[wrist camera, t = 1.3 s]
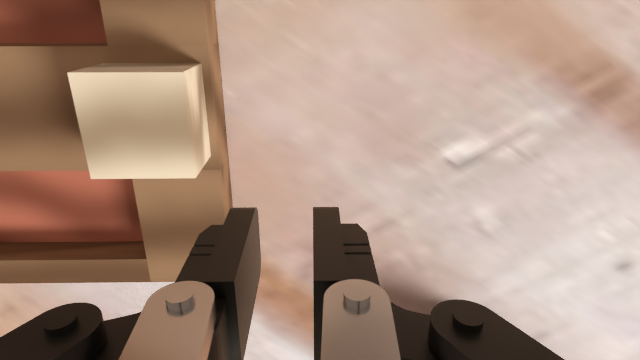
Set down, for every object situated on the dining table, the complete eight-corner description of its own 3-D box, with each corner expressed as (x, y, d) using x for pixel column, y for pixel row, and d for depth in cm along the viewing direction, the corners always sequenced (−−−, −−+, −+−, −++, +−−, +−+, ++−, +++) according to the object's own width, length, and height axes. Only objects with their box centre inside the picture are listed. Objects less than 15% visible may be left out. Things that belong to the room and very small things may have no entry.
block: (102, 63, 26) (67, 72, 22) (201, 63, 26) (182, 72, 22) (120, 156, 28) (90, 178, 24) (210, 155, 28) (195, 178, 24)
